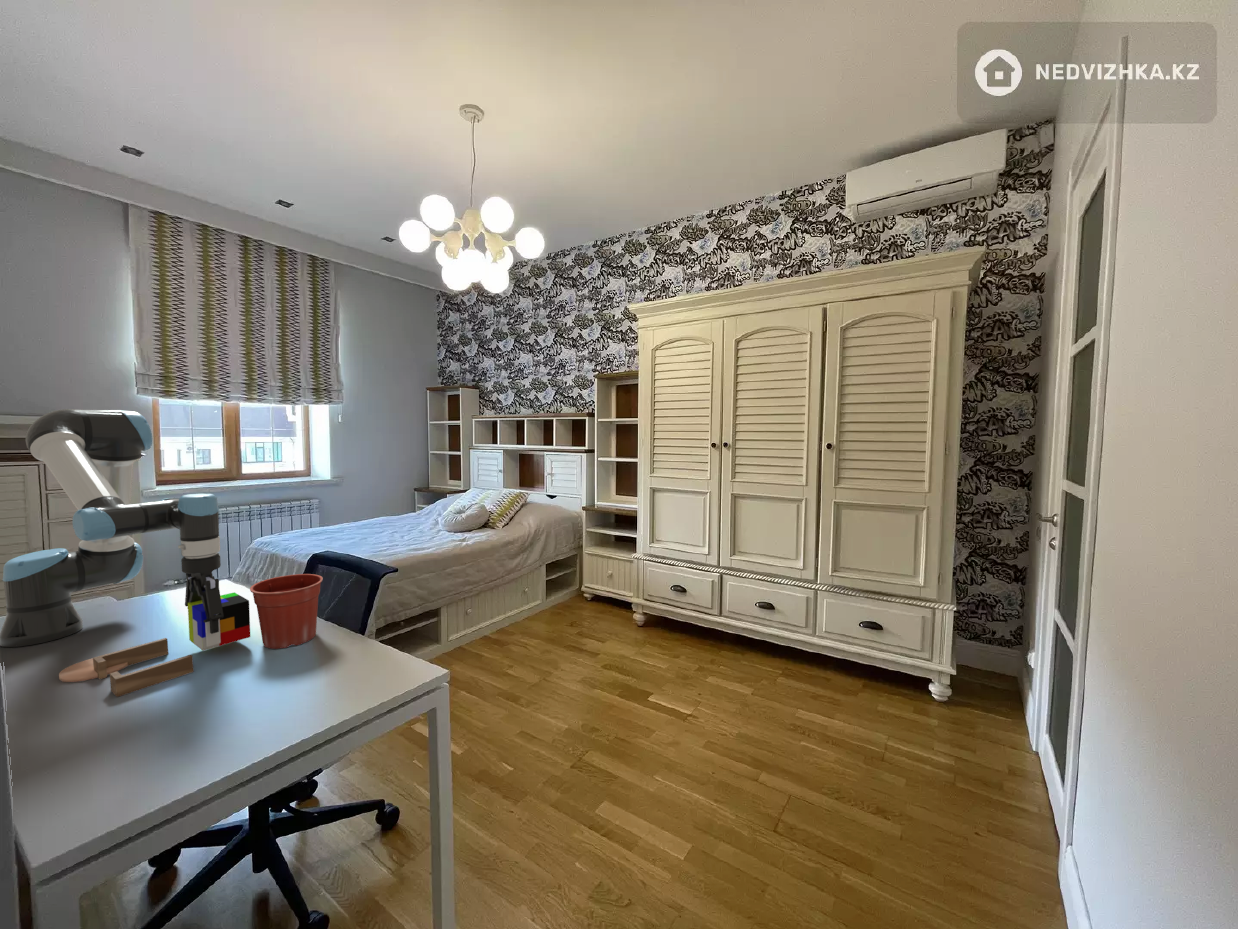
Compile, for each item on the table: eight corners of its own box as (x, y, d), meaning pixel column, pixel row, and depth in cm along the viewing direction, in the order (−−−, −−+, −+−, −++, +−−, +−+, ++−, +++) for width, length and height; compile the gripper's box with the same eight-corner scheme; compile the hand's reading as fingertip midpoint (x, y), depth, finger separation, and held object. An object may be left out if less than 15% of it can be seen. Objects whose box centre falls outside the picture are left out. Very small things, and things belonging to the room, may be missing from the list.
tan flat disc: (53, 673, 115) (53, 669, 115) (124, 653, 125) (123, 649, 125) (65, 687, 109) (65, 683, 109) (139, 665, 119) (138, 661, 119)
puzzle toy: (202, 651, 121) (201, 612, 120) (189, 640, 127) (187, 602, 126) (250, 637, 129) (248, 600, 129) (235, 627, 135) (234, 592, 134)
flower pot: (328, 642, 132) (326, 584, 131) (253, 659, 122) (249, 597, 121) (321, 623, 145) (319, 570, 144) (252, 637, 135) (249, 580, 134)
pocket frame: (94, 674, 115) (92, 657, 115) (166, 652, 126) (165, 637, 125) (117, 697, 105) (115, 679, 105) (193, 671, 116) (192, 655, 116)
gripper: (166, 550, 126) (170, 633, 128) (199, 566, 114) (204, 656, 116) (202, 545, 133) (206, 623, 135) (237, 559, 121) (241, 645, 123)
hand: (205, 639), depth 125 cm, fingers closed on puzzle toy, 10 cm apart
